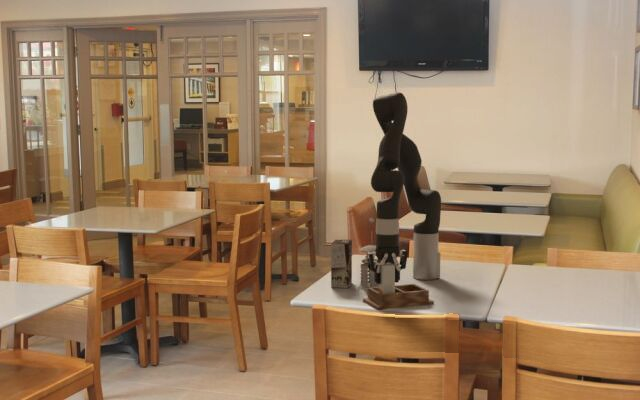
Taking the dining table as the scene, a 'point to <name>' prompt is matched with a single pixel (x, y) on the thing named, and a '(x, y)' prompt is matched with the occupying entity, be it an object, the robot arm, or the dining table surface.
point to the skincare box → (387, 279)
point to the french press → (364, 272)
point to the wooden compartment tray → (398, 297)
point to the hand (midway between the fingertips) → (387, 282)
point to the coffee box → (341, 263)
